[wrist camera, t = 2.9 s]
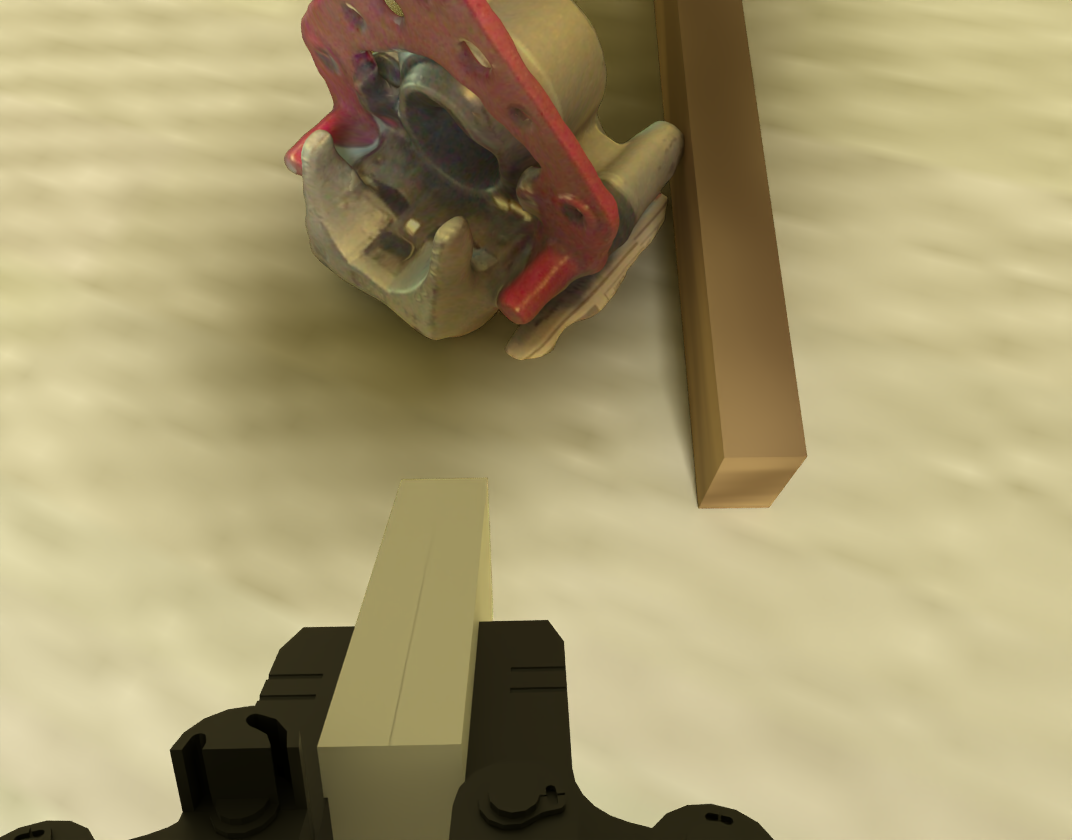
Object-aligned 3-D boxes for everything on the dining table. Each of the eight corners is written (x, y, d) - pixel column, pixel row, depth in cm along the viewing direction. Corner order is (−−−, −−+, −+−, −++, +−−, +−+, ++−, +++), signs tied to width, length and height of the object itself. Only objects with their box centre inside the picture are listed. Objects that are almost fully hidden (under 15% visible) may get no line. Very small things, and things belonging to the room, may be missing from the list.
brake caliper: (166, 236, 26) (239, -233, 20) (396, 189, 35) (499, -145, 28) (460, 454, 23) (660, -10, 17) (630, 343, 32) (804, 11, 25)
